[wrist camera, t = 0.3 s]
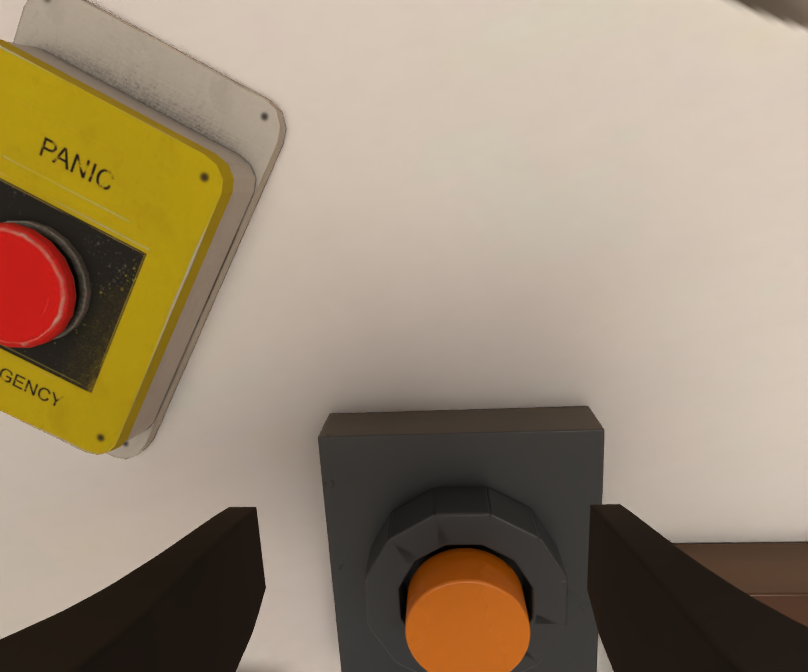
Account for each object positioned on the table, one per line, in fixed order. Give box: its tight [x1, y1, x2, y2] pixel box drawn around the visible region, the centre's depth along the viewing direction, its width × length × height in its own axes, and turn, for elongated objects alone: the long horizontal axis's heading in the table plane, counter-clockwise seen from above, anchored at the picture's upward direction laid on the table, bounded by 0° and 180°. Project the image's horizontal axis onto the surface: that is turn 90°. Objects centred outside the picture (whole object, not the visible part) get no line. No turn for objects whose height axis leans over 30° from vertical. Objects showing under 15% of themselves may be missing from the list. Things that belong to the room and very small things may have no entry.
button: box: [405, 548, 531, 672], centre depth 19 cm, size 4×4×2 cm
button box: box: [318, 406, 604, 672], centre depth 21 cm, size 11×10×4 cm
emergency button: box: [0, 0, 286, 459], centre depth 19 cm, size 9×4×15 cm
